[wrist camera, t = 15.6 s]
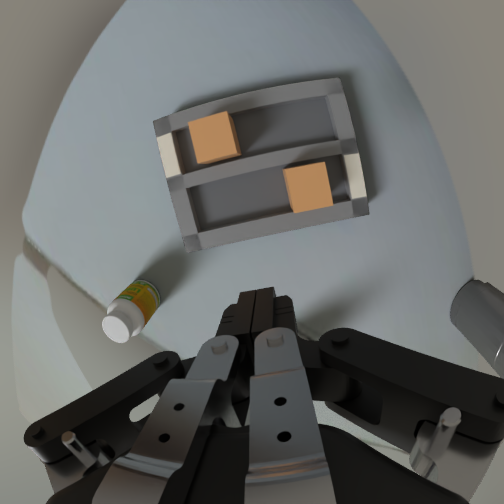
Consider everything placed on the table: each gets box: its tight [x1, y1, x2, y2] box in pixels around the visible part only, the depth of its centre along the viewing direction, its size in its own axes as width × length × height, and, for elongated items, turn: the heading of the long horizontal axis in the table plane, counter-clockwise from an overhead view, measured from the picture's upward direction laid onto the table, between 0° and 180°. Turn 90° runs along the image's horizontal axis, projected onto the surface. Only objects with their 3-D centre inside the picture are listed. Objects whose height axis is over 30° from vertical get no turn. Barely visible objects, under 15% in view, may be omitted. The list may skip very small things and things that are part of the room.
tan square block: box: [188, 111, 242, 164], centre depth 28 cm, size 4×4×5 cm
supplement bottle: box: [102, 280, 160, 343], centre depth 34 cm, size 5×5×10 cm
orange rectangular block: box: [282, 162, 333, 213], centre depth 29 cm, size 4×4×5 cm
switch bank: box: [153, 78, 369, 253], centre depth 31 cm, size 22×16×4 cm
